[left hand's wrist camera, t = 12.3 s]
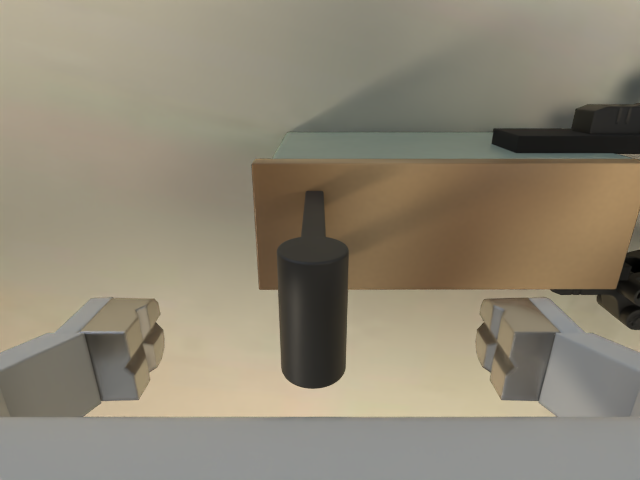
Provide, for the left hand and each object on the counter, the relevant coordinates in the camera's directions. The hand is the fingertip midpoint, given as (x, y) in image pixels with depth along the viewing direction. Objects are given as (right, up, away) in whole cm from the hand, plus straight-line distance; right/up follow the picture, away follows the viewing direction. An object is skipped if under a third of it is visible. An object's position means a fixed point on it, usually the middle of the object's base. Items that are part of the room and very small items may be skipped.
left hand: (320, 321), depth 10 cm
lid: (+5, +3, +7) cm, 9 cm away
